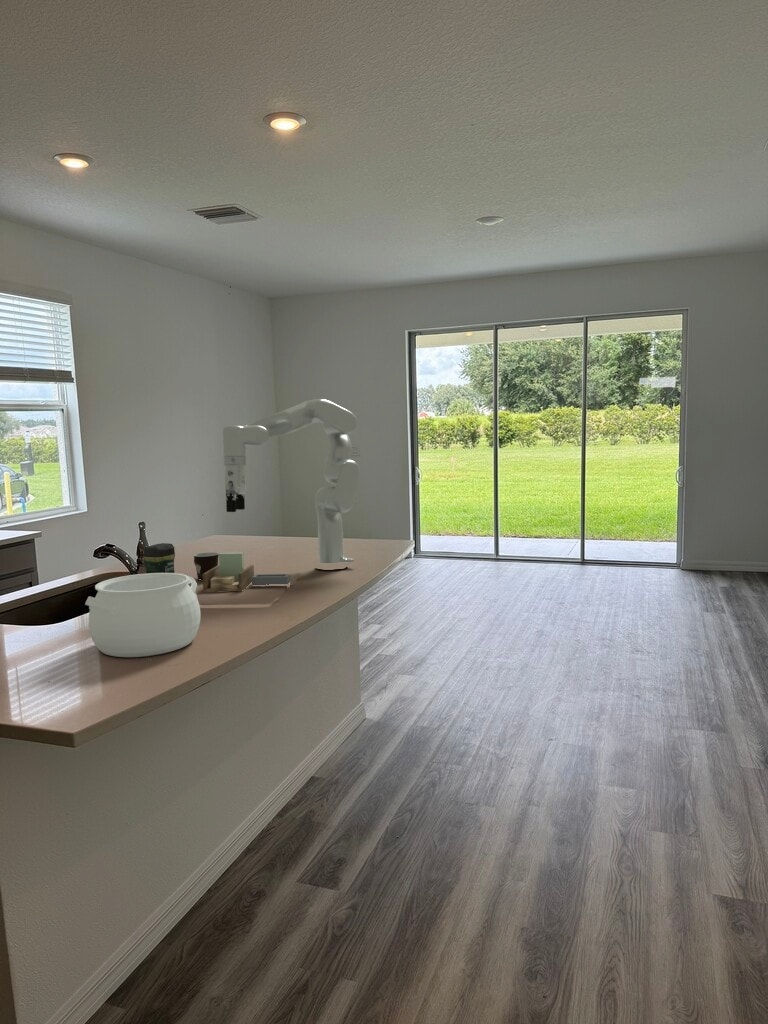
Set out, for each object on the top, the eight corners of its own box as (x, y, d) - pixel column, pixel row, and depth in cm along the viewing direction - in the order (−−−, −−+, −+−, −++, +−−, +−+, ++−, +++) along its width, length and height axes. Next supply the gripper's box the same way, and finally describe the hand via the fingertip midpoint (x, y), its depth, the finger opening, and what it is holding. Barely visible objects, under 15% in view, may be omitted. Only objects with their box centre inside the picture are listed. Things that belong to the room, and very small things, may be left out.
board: (244, 584, 240) (243, 552, 239) (243, 585, 238) (241, 553, 237) (222, 584, 241) (220, 552, 240) (220, 585, 239) (218, 553, 238)
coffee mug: (221, 582, 249) (220, 555, 248) (196, 585, 245) (195, 557, 244) (216, 577, 259) (215, 550, 258) (193, 579, 256) (191, 552, 255)
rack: (254, 585, 243) (253, 565, 243) (242, 594, 228) (241, 573, 228) (218, 585, 244) (217, 565, 244) (203, 595, 230) (202, 574, 229)
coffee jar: (162, 606, 216) (158, 546, 214) (141, 604, 219) (138, 545, 217) (182, 598, 225) (178, 542, 223) (162, 597, 228) (158, 541, 226)
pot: (168, 624, 195) (164, 566, 193) (228, 639, 178) (224, 577, 176) (64, 650, 172) (59, 586, 171) (121, 671, 156) (116, 600, 154)
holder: (291, 586, 240) (290, 573, 239) (287, 590, 234) (286, 577, 233) (256, 586, 241) (256, 573, 240) (252, 590, 235) (251, 577, 234)
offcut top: (234, 581, 235) (234, 576, 235) (232, 584, 230) (231, 578, 230) (214, 582, 235) (213, 576, 235) (210, 585, 230) (210, 579, 230)
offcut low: (241, 587, 235) (241, 582, 234) (237, 590, 230) (237, 584, 230) (215, 588, 235) (214, 582, 235) (210, 591, 231) (210, 585, 231)
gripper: (237, 461, 233) (238, 513, 234) (252, 461, 250) (253, 508, 252) (215, 461, 234) (216, 512, 235) (232, 461, 251) (233, 508, 252)
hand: (235, 510), depth 243 cm, fingers open, 9 cm apart
